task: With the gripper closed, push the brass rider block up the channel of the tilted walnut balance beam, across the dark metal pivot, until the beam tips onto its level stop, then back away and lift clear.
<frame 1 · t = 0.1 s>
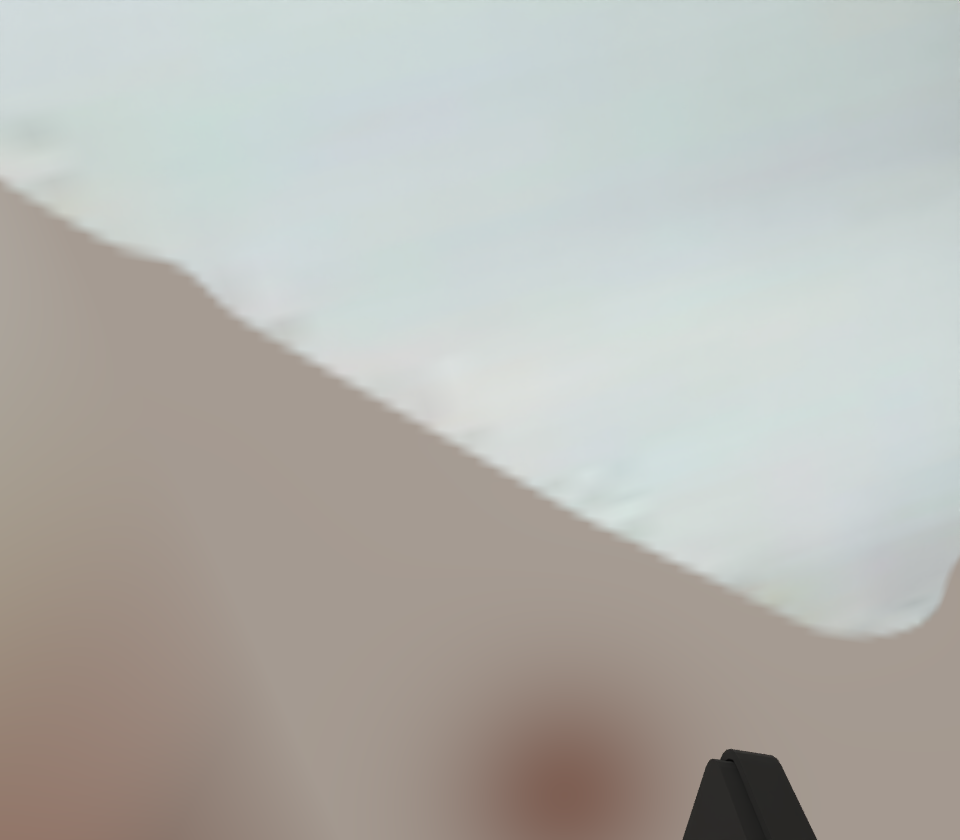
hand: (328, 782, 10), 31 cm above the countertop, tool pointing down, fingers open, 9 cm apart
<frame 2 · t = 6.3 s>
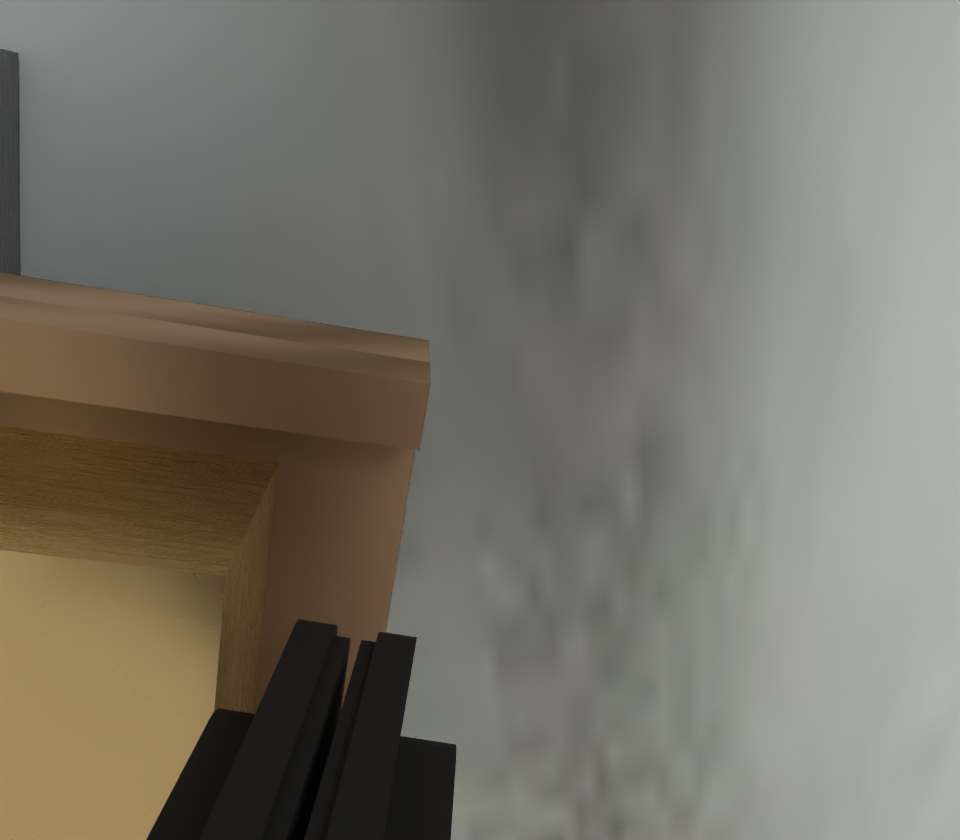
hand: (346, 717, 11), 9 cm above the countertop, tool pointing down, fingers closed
brass rider: (78, 578, 13), point 7 cm above the countertop, tilted 5°, touching balance beam, gripper
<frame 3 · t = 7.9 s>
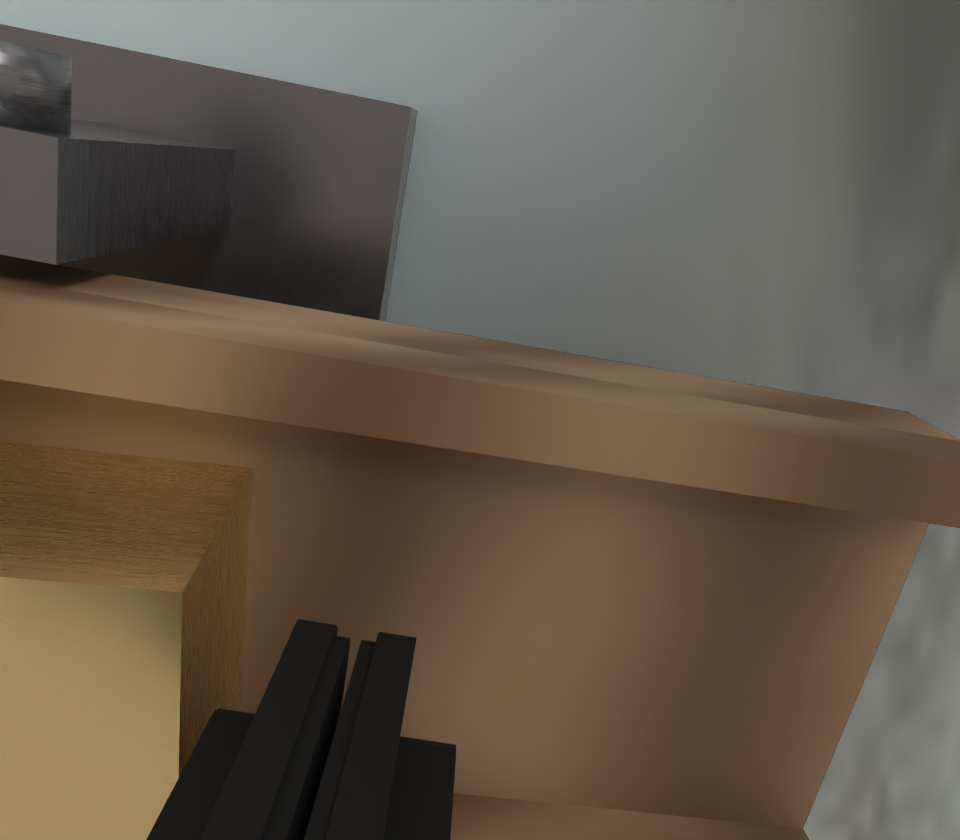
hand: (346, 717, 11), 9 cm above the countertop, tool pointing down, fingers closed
pivot stand: (168, 410, 19), on the countertop
brass rider: (50, 593, 12), point 8 cm above the countertop, touching balance beam, gripper
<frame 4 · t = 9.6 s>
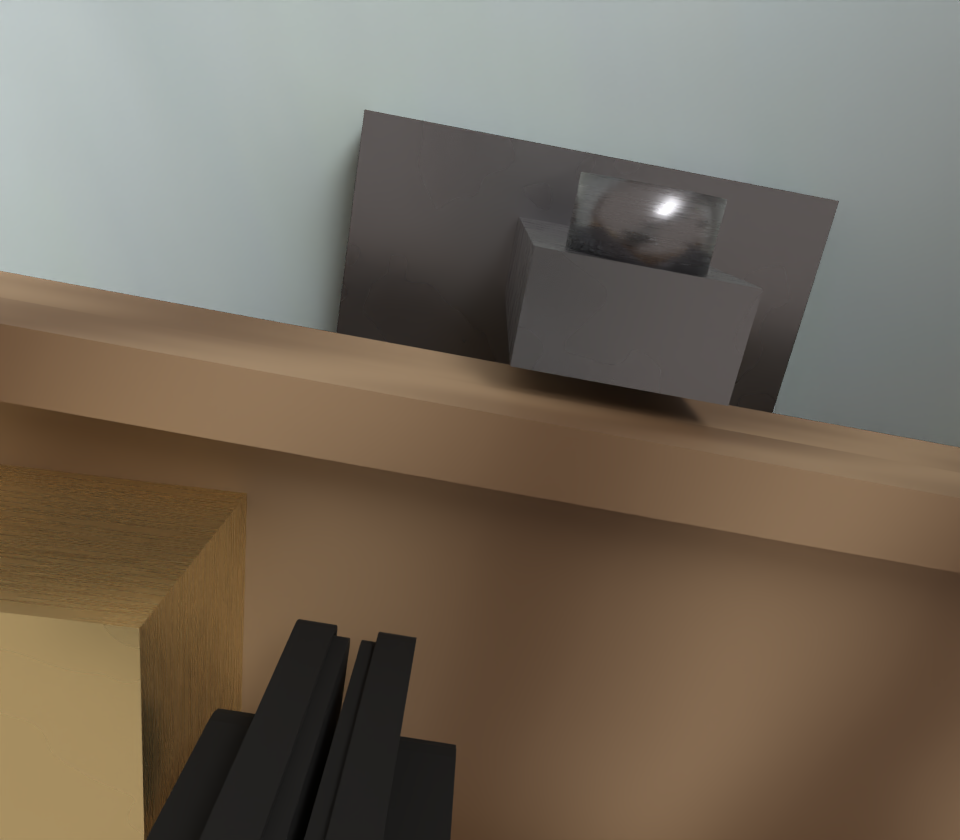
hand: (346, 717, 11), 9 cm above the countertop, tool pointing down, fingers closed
balance beam: (546, 709, 11), point 8 cm above the countertop, hinge at 0.5°, touching brass rider
pivot stand: (525, 485, 19), on the countertop
brass rider: (51, 617, 12), point 8 cm above the countertop, touching balance beam, gripper
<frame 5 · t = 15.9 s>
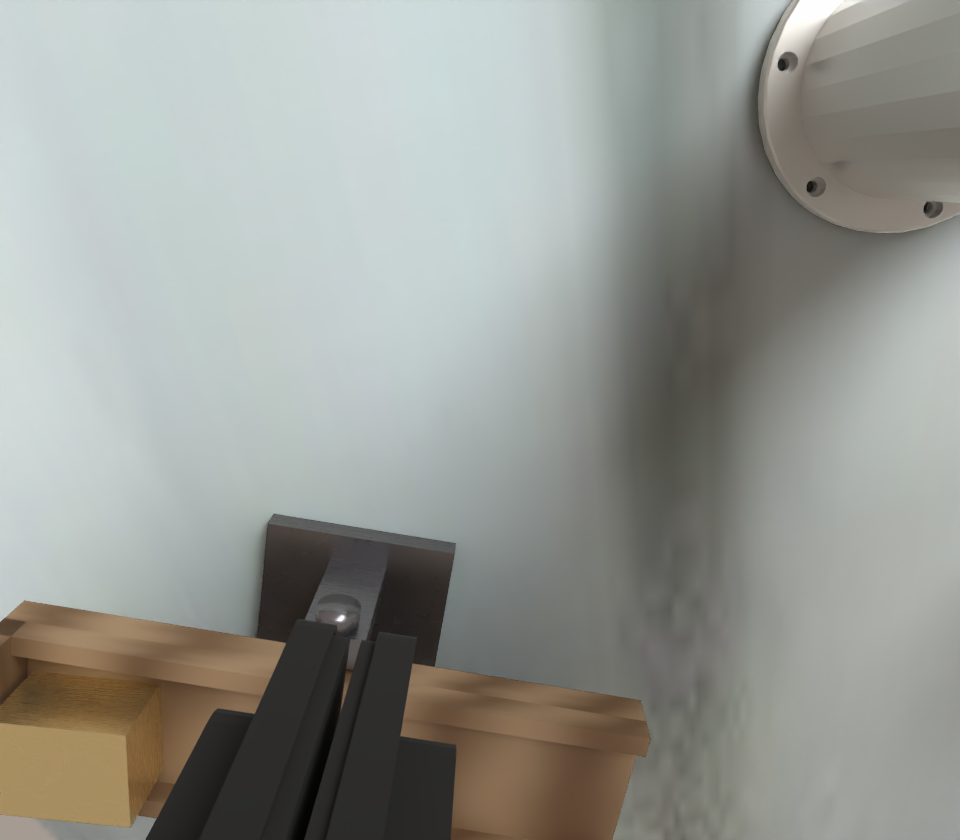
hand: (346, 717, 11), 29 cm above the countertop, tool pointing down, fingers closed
balance beam: (315, 759, 36), point 8 cm above the countertop, hinge at 0.5°, touching brass rider
pivot stand: (348, 652, 44), on the countertop
brass rider: (99, 721, 37), point 8 cm above the countertop, touching balance beam
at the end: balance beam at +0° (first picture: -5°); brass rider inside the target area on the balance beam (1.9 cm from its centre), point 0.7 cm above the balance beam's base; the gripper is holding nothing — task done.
